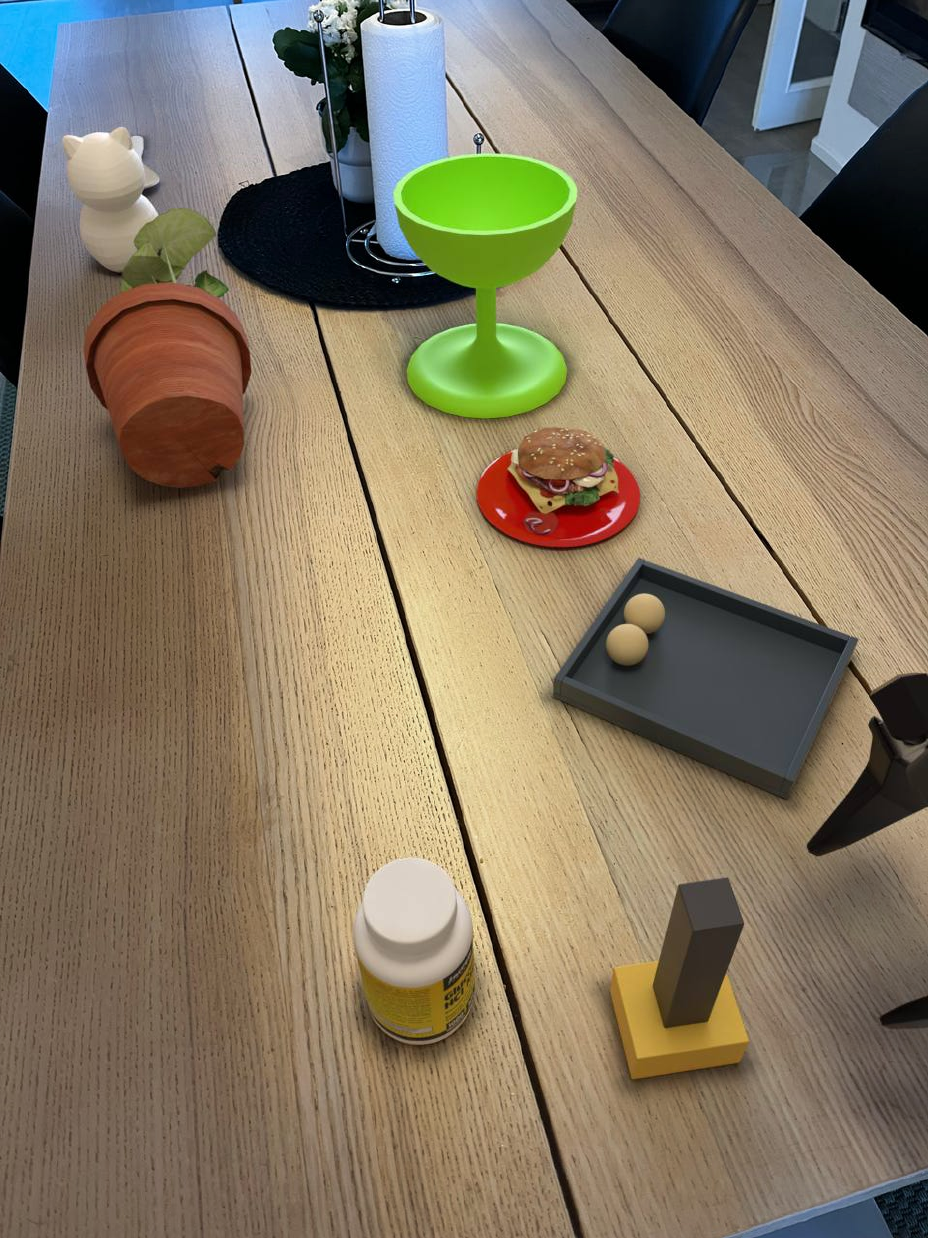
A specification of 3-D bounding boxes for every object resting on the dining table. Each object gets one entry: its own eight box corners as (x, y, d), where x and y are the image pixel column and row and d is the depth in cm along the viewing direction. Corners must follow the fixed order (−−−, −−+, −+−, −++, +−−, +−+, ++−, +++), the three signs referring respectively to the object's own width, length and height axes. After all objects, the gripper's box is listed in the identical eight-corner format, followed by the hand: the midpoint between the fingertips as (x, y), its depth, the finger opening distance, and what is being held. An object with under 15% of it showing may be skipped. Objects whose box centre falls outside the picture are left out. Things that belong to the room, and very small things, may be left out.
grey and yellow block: (711, 974, 59) (756, 846, 48) (740, 1063, 55) (794, 945, 45) (609, 990, 58) (632, 864, 48) (631, 1080, 55) (661, 965, 44)
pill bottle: (466, 1056, 56) (461, 968, 48) (356, 1039, 56) (332, 949, 48) (482, 949, 60) (480, 851, 52) (379, 935, 61) (361, 836, 53)
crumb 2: (618, 612, 74) (632, 644, 76) (591, 637, 73) (606, 669, 75) (648, 619, 72) (662, 651, 73) (621, 645, 71) (636, 677, 72)
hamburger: (451, 470, 91) (449, 414, 86) (590, 430, 94) (595, 374, 90) (519, 570, 82) (521, 513, 77) (670, 521, 85) (680, 464, 81)
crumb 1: (634, 584, 77) (652, 615, 78) (609, 609, 75) (627, 640, 77) (661, 586, 74) (679, 618, 75) (635, 612, 73) (654, 644, 74)
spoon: (130, 200, 130) (127, 187, 129) (119, 138, 144) (116, 126, 142) (163, 195, 131) (160, 183, 129) (149, 134, 144) (146, 122, 143)
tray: (851, 657, 75) (858, 638, 73) (786, 800, 66) (793, 781, 65) (635, 576, 81) (638, 557, 79) (552, 697, 73) (553, 678, 71)
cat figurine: (95, 288, 115) (52, 152, 104) (85, 239, 123) (44, 108, 112) (175, 273, 117) (142, 138, 106) (160, 226, 125) (127, 96, 114)
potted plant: (290, 496, 91) (235, 280, 113) (253, 357, 79) (199, 145, 100) (116, 538, 89) (92, 311, 111) (51, 402, 77) (38, 176, 98)
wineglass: (549, 428, 95) (557, 243, 82) (385, 405, 98) (368, 224, 85) (580, 338, 105) (592, 161, 92) (432, 319, 108) (423, 146, 95)
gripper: (969, 547, 45) (694, 729, 53) (1246, 937, 33) (834, 1107, 40) (1065, 643, 52) (808, 794, 59) (1329, 1002, 39) (960, 1139, 46)
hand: (845, 932), depth 51 cm, fingers open, 9 cm apart
